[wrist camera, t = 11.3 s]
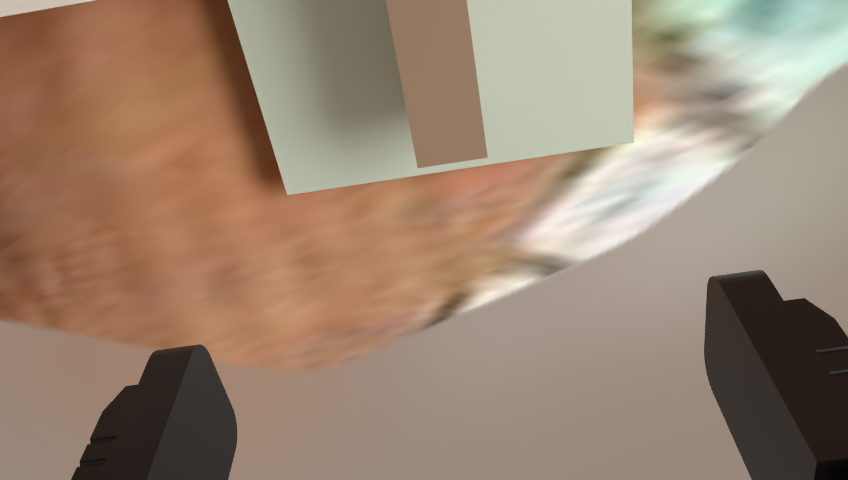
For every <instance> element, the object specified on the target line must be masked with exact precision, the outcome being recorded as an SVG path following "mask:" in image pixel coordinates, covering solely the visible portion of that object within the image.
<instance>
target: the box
mask: <svg viewBox="0 0 848 480" xmlns="http://www.w3.org/2000/svg"><path fill="white" fill-rule="evenodd" d="M89 1H94V0H0V17H3V16H9V15H15V14H20V13H26V12H32V11H37V10H43V9H49V8H55V7H60V6H66V5H72V4H77V3H83V2H89Z"/></svg>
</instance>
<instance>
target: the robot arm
mask: <svg viewBox="0 0 848 480" xmlns="http://www.w3.org/2000/svg"><path fill="white" fill-rule="evenodd" d="M704 357H705V365H706V371H707V376H708V380H709V383H710V386H711V389H712V391H713V394H714V396H715V398H716V400H717V403H718V405H719V407H720V409H721V412H722V414H723V416H724V418H725V420H726V423H727V425H728V427H729V430H730V432H731V434H732V436H733V439H734V441H735V443H736V445H737V447H738V450H739V452H740V454H741V456H742V459H743V461H744V463H745V465H746V467H747V470H748V472H749V474H750V477H751V479H752V480H848V337H847V336H846V334H845V333H844V331H843V330H842V328H841V327H840V326H839V324H838V323H837V321H836V320H835V319H834V318H833V317H831V316H830V315H828V314H827V313H825V312H824V311H822V310H821V309H819V308H818V307H816V306H815V305H814V304H812V303H810V302H809V301H808V300H806V299H805V298H803V299H795V300H788V301H783V299H782V297H781V296H780V294H779V293H778V291H777V290H776V288H775V287H774V285H773V283H772V282H771V280H770V279H769V277H768V276H767V275H766V273H765V272H764V271H762V270H756V271H749V272H741V273H734V274H727V275H719V276H712V277H710V278H709V281H708V285H707V302H706V324H705V344H704ZM90 441H91V442H90V444H88V445H87V447H86V449H85V451H84V453H83V455H82V458H81V460H80V467H77V468H76V471H75V473H74V475H73V477H72V479H71V480H228V478H229V473H230V469H231V466H232V462H233V458H234V453H235V450H236V444H237V424H236V418H235V413H234V410H233V408H232V405H231V403H230V401H229V398H228V396H227V394H226V391H225V389H224V387H223V384H222V382H221V380H220V377H219V375H218V373H217V371H216V368H215V366H214V363H213V361H212V359H211V357H210V354H209V352H208V351H207V349H206V348H205V347H204V346H203V345H193V346H185V347H178V348H171V349H163V350H157V351H155V352H153V353H152V355H151V356H150V358H149V360H148V363H147V365H146V367H145V370H144V372H143V374H142V377H141V379H140V382H139V384H138V385H132V386H126V387H125V388H124V389H123V390H122V391H121V392H120V393H119V394H118V395H117V396H116V398H115V399H114V400H113V401H112V402H111V403H110V404H109V405H108V406H107V408H106V409H105V410H104V411H103V412H102V414H101V416H100V418H99V420H98V423H97V425H96V427H95V429H94V432H93V434H92V436H91V438H90Z"/></svg>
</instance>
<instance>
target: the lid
mask: <svg viewBox="0 0 848 480" xmlns="http://www.w3.org/2000/svg"><path fill="white" fill-rule="evenodd" d="M228 3H229V7H230V10H231V13H232V16H233V20H234V23H235V26H236V30H237V33H238V36H239V39H240V43H241V46H242V49H243V52H244V56H245V59H246V62H247V65H248V69H249V72H250V75H251V79H252V82H253V85H254V88H255V92H256V95H257V98H258V101H259V105H260V108H261V111H262V114H263V118H264V121H265V124H266V128H267V131H268V134H269V137H270V141H271V144H272V147H273V150H274V154H275V157H276V160H277V163H278V167H279V170H280V173H281V177H282V180H283V183H284V186H285V190H286V193H287V195H292V194H299V193H305V192H312V191H318V190H325V189H331V188H338V187H345V186H351V185H358V184H364V183H371V182H377V181H384V180H391V179H397V178H404V177H410V176H417V175H423V174H430V173H437V172H443V171H450V170H456V169H463V168H470V167H476V166H483V165H489V164H496V163H502V162H509V161H516V160H522V159H529V158H535V157H542V156H548V155H555V154H562V153H568V152H575V151H581V150H588V149H594V148H601V147H608V146H614V145H621V144H627V143H634V136H633V68H632V0H228Z"/></svg>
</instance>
